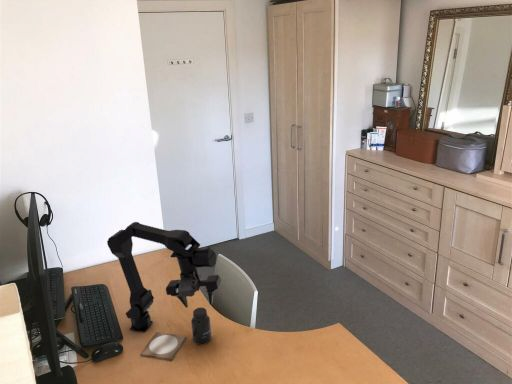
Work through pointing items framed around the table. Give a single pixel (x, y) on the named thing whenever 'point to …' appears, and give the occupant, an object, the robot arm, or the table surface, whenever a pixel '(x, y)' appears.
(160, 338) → the walnut board
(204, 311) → the supplement bottle
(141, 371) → the table surface
